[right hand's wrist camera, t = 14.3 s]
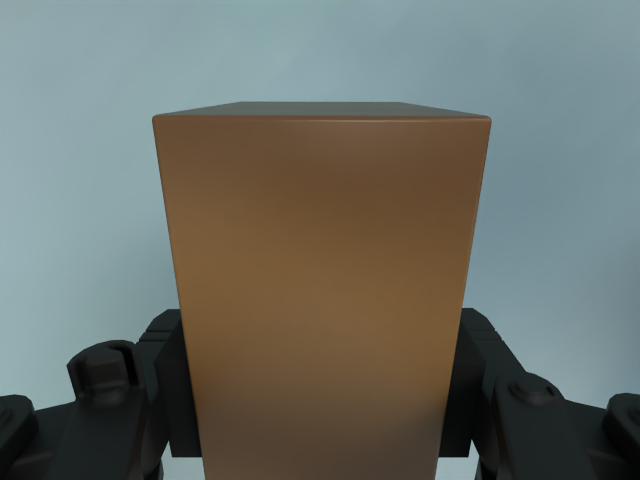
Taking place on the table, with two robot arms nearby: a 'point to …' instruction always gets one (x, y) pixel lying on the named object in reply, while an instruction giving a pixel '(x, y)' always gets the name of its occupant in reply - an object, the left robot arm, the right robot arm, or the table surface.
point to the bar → (320, 280)
